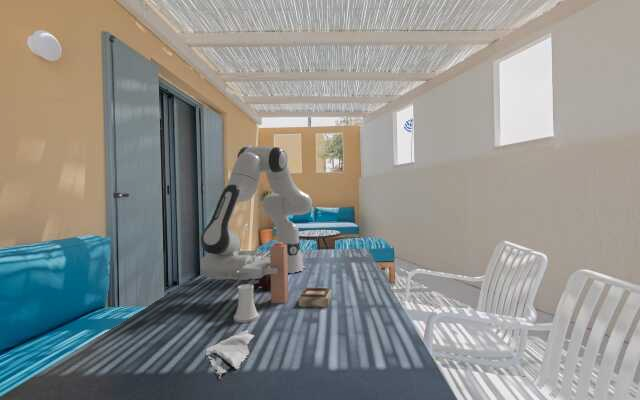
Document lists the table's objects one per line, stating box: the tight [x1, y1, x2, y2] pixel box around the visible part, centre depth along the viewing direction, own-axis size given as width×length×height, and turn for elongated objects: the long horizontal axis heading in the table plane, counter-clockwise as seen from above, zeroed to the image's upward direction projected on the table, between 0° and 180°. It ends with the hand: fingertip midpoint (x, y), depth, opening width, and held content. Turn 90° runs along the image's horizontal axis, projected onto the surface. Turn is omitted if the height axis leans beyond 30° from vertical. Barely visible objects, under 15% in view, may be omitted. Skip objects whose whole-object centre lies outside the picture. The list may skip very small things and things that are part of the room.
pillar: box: [269, 241, 289, 304], centre depth 123 cm, size 5×5×21 cm
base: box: [298, 287, 332, 308], centre depth 121 cm, size 10×10×4 cm
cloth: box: [205, 330, 255, 380], centre depth 84 cm, size 26×14×2 cm, turn 168°
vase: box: [233, 283, 260, 323], centre depth 106 cm, size 8×8×10 cm
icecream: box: [252, 274, 271, 290], centre depth 140 cm, size 7×7×15 cm
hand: (281, 267), depth 123 cm, fingers open, 8 cm apart
